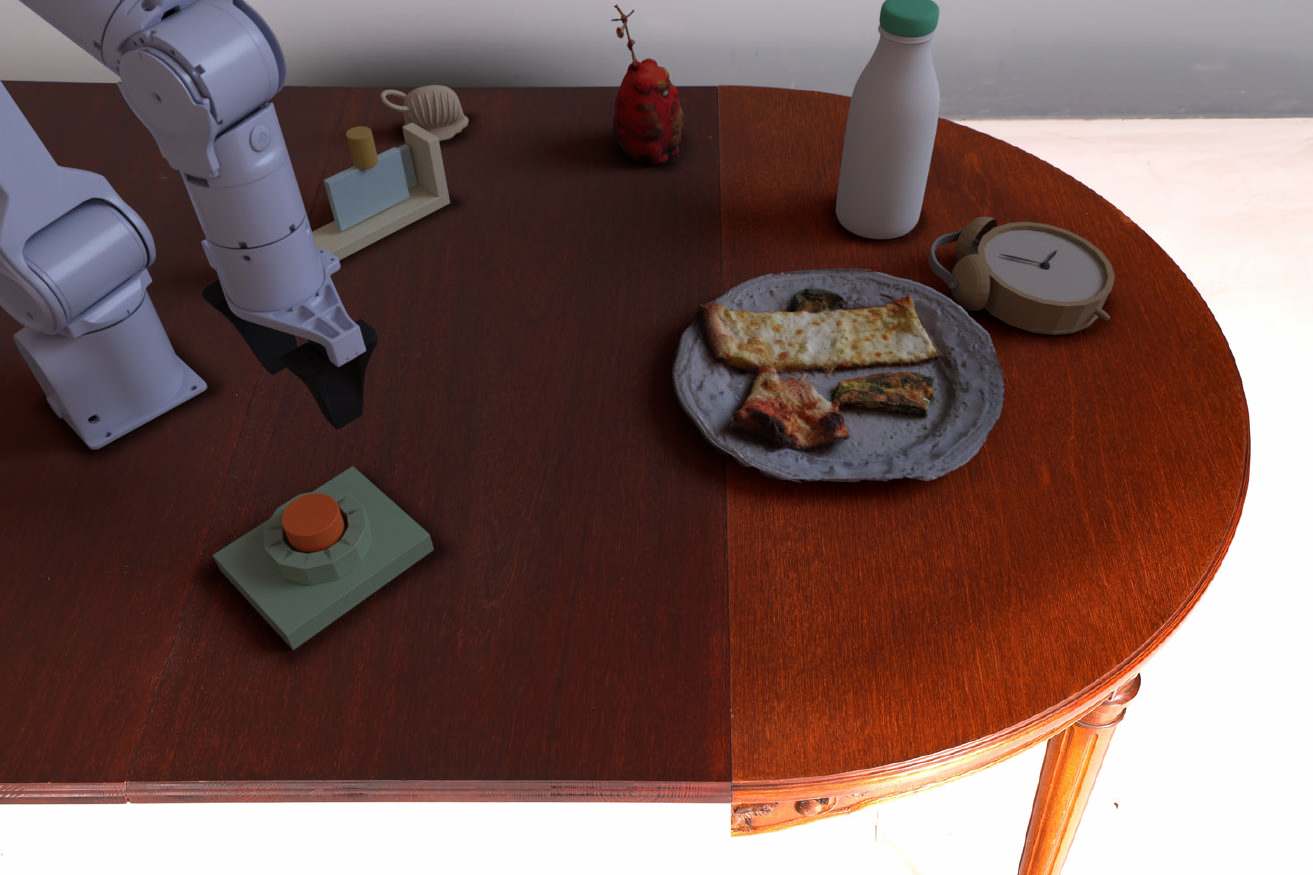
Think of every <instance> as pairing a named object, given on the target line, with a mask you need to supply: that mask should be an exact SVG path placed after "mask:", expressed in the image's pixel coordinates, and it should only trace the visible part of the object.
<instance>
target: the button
mask: <svg viewBox="0 0 1313 875" xmlns="http://www.w3.org/2000/svg"><path fill="white" fill-rule="evenodd" d="M281 522H282V526H283V528H284V531H285V533H286V535H287V538H288V540H289V542H290V544H291V545H292V546H293V547H294V548H295V549H297V550H299V551H302V552H307V553H312V552H319V551H322V550H325V549H327V548H329V547H331V546H332V545H334V544H335V543H336V542H337V541H338V540H339V539H340V537H341V536H342V534H343V531H344V521H343V518H342V515H341V513H340V510H339V507H338V504H337V502H336V501H335V500H334V499H333V498H332V497H330V496H328V495H325V494H320V493H313V494H307V495H304V496H301V497H299V498H297V499H295V500H294V501H292V502H291V503H290V504H289V505H288V506H287V507H286V508H285V510H284V512H283V514H282V518H281Z"/></svg>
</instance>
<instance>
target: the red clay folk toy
mask: <svg viewBox="0 0 1313 875" xmlns="http://www.w3.org/2000/svg"><path fill="white" fill-rule="evenodd" d="M613 7H614V8H615V9H616V11H617V12H618V13H619V14H620V18H612V19H611V20H610V21H611V22H619V21H620V22H621V23H622V25H621V26H617V27H616V30H615V33H616V36H617V38H619V39H623V38H624V36H625V32H626V36H627V44H626V47H627V49H628V50H629V51H630V54H631V58H632V62H631V63H630V64H629V65H628V67H627V70H626V73H625V74H624V76H623V78H622V79H621V83H620V86H619V88H618V92H617V94H616V96H615V102H614V115H613V118H612V123H613V125H612V133H613V136H614V143H615V145H616V147H618V148H619V149H621V150H622V151H623V153H624V154H625V155H626V156H627V157H629V158H630V159H631V160H634V161H636V162H637V163H639V164H646V163H647V162H649V163H650V165H654V166H657V165H664V164H665V163H666V162H667V161H668V160H669V159H671V158H674V157H675V156H678V155H679V152H680V147H679V146H680V145H681V143H682V138H683V137H682V132H683V129H684V120H683V119H684V111H683V108H682V107H681V102H680V99H679V92H678V89H677V87H676V86H675V85H674V84H673V83H672V81H671V79H670V73H669V71H668V70H667V68H666V67H664V66H660V65H658V62H657V61H656V59H652V58H650V57H648V58H645V59H643V60H642V61H638V59H637V57H636V54H635V52H634V48H633V46H634V45H635V43H636V40H634V39H632V38H631V36H630V33H629V28H628V24H627V23H628V20H629V19H628V18H629V17H630V16H632V15H633V13H634V12H635V9H632V10H631V12H629V13H628V14H625V13H623V10H622V9H621V8H620V7H619V5H618V4H617V3H615V5H613Z"/></svg>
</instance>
